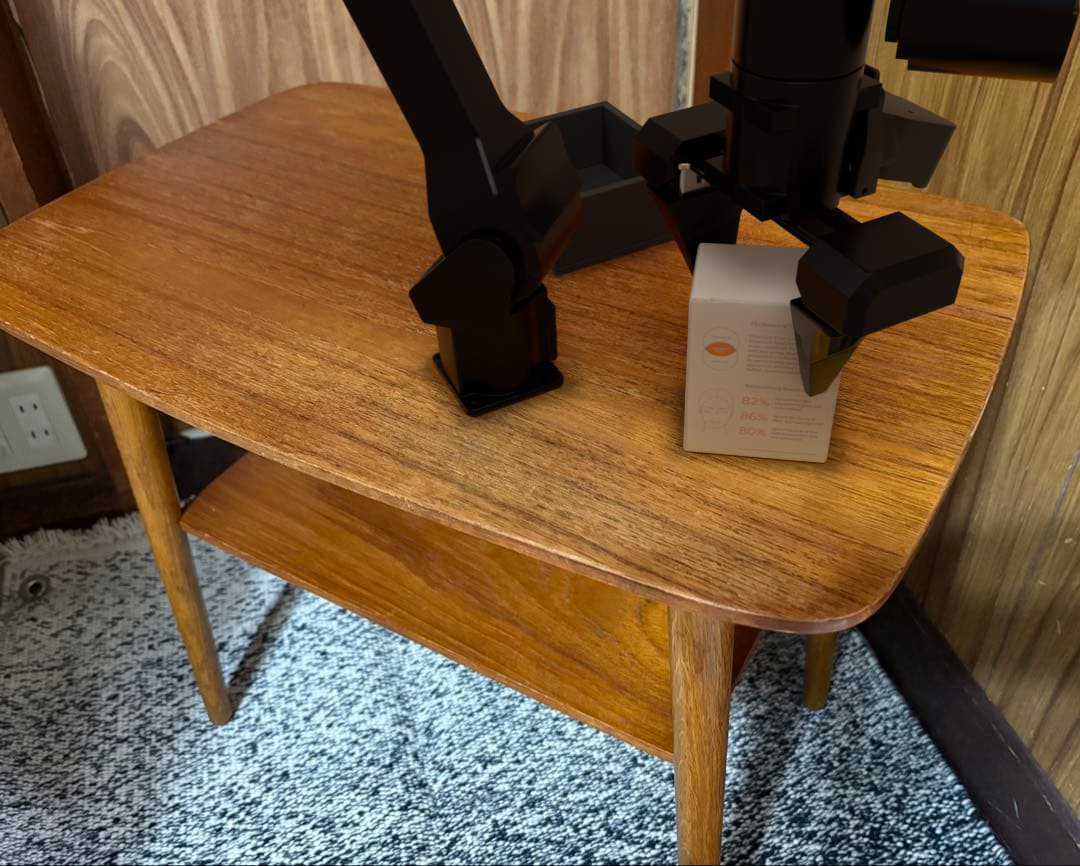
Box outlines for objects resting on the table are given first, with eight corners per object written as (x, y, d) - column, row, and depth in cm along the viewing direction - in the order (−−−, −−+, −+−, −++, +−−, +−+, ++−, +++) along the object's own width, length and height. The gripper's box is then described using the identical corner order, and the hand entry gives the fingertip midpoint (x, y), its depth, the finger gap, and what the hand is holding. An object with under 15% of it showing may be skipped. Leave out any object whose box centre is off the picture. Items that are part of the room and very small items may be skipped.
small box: (825, 402, 58) (853, 247, 51) (826, 467, 54) (856, 307, 47) (689, 391, 60) (697, 238, 53) (680, 453, 56) (688, 296, 49)
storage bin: (556, 276, 70) (553, 205, 66) (482, 199, 79) (476, 133, 76) (693, 234, 73) (696, 164, 70) (606, 164, 83) (606, 100, 79)
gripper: (1111, 88, 39) (1007, 395, 49) (814, -32, 52) (781, 231, 62) (886, 156, 35) (825, 469, 46) (629, 9, 48) (627, 280, 59)
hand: (762, 346), depth 53 cm, fingers open, 9 cm apart
